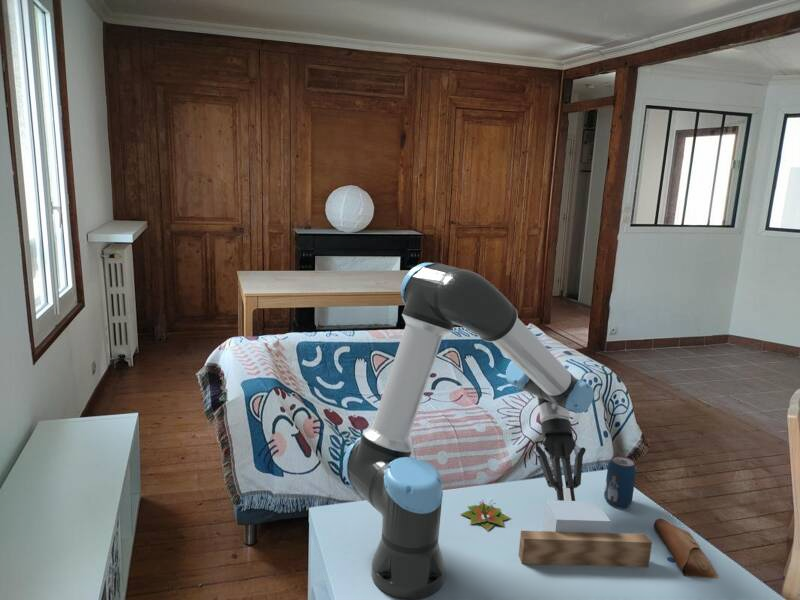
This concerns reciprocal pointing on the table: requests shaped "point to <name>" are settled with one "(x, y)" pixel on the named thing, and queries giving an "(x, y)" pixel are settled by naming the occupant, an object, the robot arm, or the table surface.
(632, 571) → the table surface
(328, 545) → the table surface
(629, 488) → the soda can
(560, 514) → the white block
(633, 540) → the walnut board
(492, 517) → the lily flower
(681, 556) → the sunglasses case
